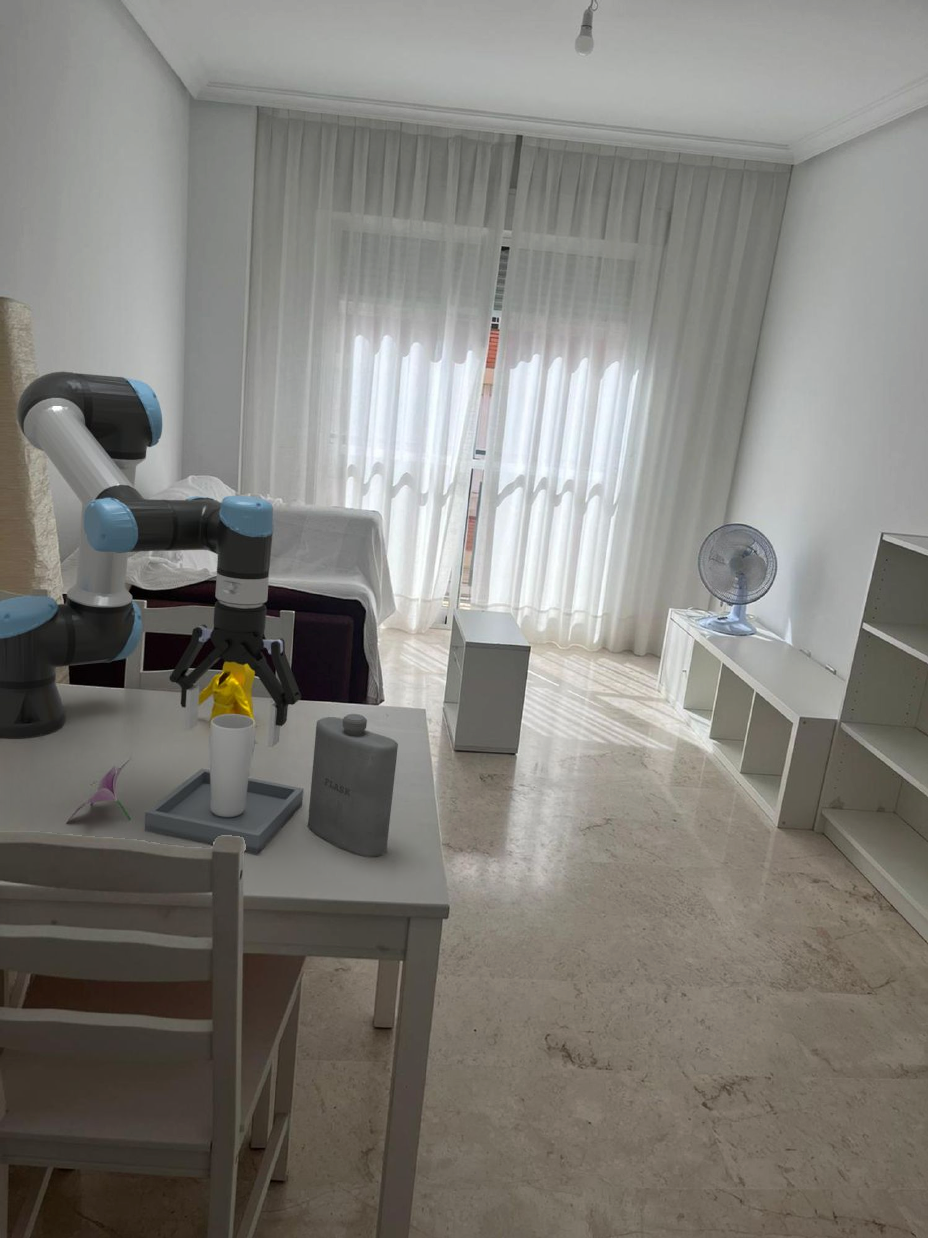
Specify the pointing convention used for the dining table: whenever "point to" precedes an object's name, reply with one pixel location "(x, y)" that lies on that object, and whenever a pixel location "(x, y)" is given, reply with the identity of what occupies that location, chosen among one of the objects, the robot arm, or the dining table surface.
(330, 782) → the flask
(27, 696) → the robot arm
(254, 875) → the dining table surface
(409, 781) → the dining table surface
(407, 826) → the dining table surface
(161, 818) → the tray
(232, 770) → the drinking glass
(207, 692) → the figure statuette
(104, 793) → the lily
